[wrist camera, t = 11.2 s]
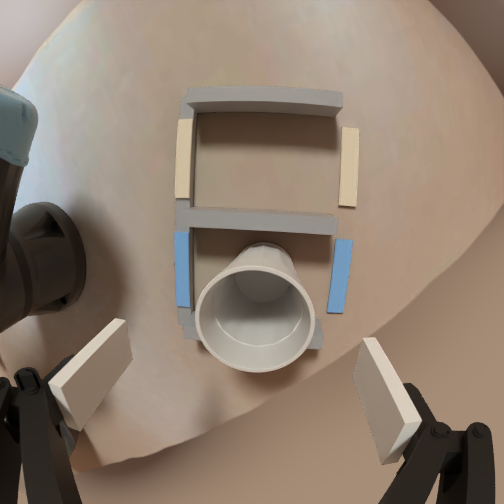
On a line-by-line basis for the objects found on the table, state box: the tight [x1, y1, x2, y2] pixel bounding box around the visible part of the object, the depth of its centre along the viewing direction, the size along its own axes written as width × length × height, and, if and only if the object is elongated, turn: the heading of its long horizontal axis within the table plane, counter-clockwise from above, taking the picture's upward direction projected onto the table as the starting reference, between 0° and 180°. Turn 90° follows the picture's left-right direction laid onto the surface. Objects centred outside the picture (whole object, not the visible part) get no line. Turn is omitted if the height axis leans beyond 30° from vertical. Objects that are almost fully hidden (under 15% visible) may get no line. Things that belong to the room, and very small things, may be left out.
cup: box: [195, 242, 315, 372], centre depth 24 cm, size 8×8×12 cm
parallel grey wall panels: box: [175, 86, 359, 349], centre depth 27 cm, size 18×24×4 cm
